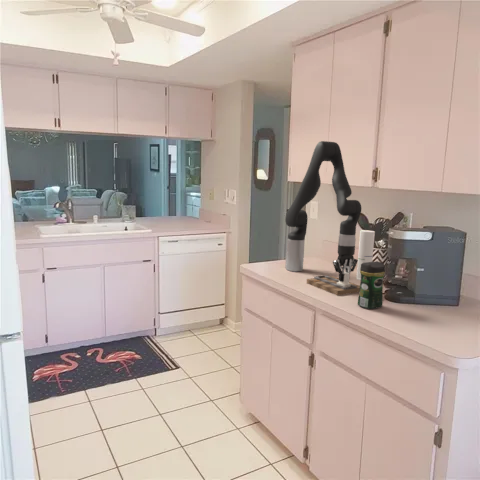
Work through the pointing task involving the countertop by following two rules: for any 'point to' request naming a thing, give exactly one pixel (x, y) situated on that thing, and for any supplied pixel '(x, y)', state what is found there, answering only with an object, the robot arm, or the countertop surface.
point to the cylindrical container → (365, 249)
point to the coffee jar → (371, 285)
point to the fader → (345, 280)
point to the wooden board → (332, 285)
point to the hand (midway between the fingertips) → (343, 280)
